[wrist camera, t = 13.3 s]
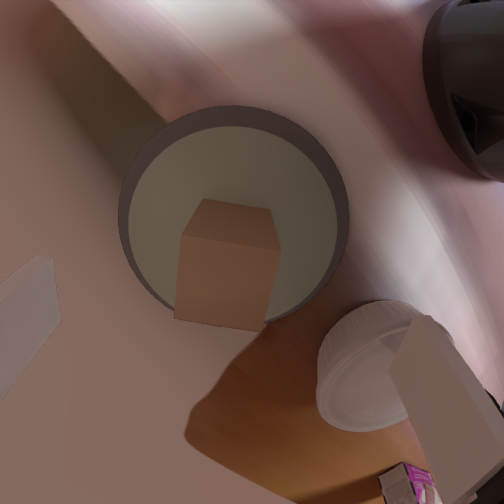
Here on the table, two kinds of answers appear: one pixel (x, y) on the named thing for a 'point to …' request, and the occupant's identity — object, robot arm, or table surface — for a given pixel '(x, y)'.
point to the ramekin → (363, 367)
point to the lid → (232, 227)
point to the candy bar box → (408, 486)
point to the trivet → (239, 118)
